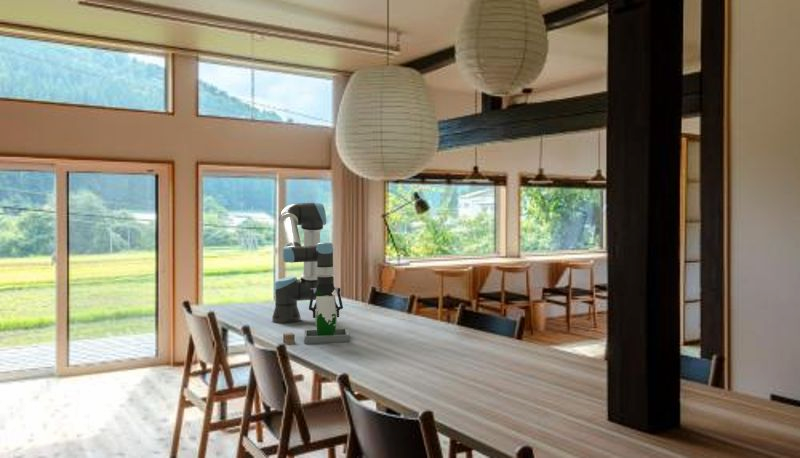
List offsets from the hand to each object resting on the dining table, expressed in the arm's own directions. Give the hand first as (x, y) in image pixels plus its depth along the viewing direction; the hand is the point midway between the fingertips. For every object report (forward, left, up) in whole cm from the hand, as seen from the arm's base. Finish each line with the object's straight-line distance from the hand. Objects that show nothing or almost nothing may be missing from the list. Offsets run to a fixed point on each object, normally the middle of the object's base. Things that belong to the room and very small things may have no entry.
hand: (326, 324), depth 283 cm
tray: (0, 0, -7) cm, 7 cm away
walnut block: (+4, -17, -7) cm, 19 cm away
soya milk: (0, 0, -5) cm, 5 cm away
